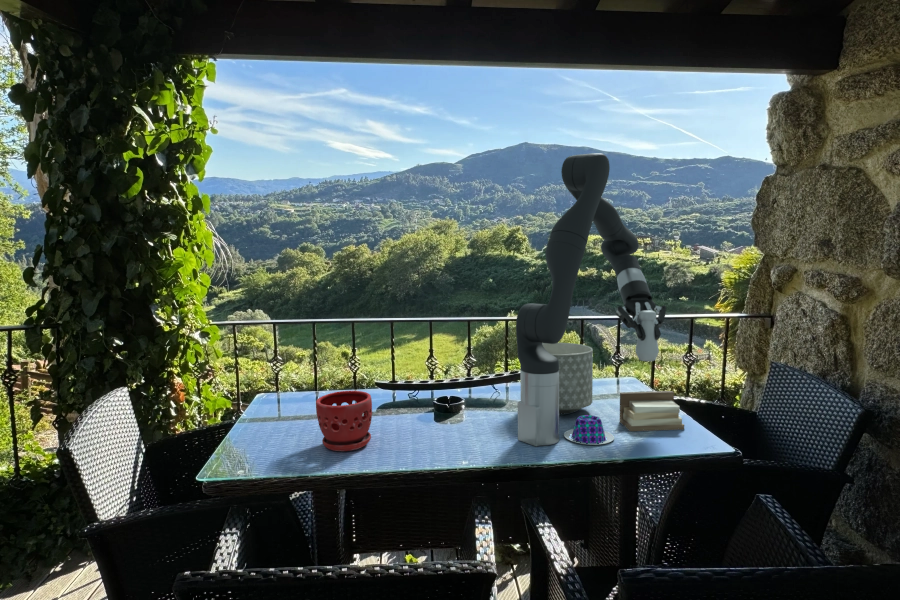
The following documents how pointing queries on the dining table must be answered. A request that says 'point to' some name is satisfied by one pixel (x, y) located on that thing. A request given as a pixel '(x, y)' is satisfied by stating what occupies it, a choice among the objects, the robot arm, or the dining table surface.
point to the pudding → (589, 431)
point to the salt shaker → (647, 337)
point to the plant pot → (345, 419)
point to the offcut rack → (649, 411)
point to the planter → (573, 375)
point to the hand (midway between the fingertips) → (650, 338)
